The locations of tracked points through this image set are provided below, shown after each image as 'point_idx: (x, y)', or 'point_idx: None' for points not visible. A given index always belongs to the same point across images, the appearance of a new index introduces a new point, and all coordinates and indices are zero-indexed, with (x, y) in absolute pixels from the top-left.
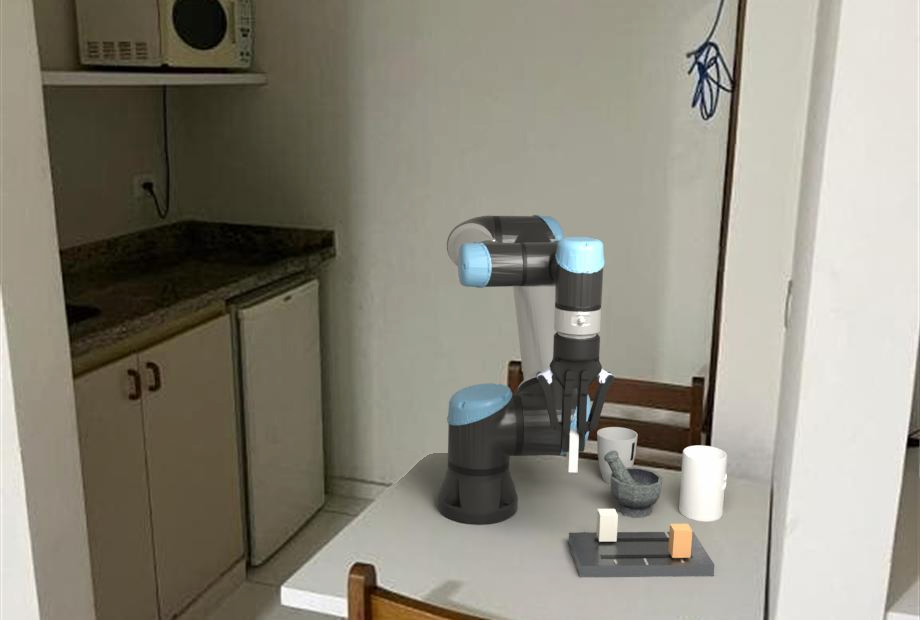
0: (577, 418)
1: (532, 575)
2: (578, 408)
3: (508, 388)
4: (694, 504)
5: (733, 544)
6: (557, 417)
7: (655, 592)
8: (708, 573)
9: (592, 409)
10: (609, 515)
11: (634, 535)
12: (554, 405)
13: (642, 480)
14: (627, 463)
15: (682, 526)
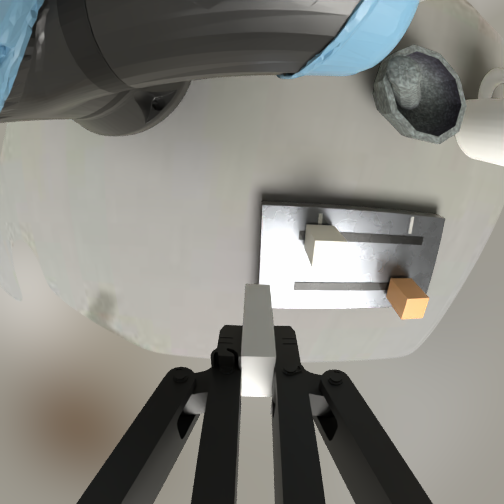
0: (275, 414)
1: (195, 290)
2: (276, 462)
3: None
4: (475, 152)
5: (471, 225)
6: (185, 442)
7: (339, 330)
8: None
9: (342, 445)
10: (328, 267)
11: (366, 223)
12: (163, 481)
13: (433, 69)
14: (419, 1)
15: (418, 306)
